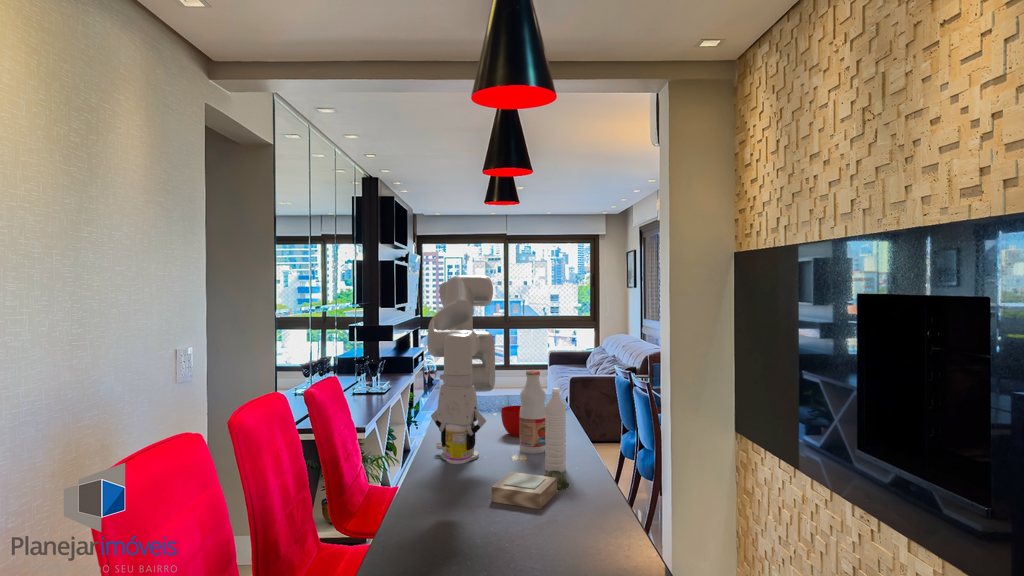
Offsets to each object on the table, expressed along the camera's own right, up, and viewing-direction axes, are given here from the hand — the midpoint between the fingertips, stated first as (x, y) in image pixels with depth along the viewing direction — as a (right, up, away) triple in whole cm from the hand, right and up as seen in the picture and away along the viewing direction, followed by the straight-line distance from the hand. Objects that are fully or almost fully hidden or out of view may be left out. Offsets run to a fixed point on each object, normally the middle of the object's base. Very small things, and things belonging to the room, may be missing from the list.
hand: (458, 446), depth 161 cm
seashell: (+26, -16, +16) cm, 35 cm away
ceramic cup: (+18, -15, +77) cm, 80 cm away
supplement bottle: (0, -4, 0) cm, 4 cm away
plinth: (+18, -15, +6) cm, 24 cm away
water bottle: (+28, -15, +31) cm, 45 cm away
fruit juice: (+22, -15, +52) cm, 59 cm away
